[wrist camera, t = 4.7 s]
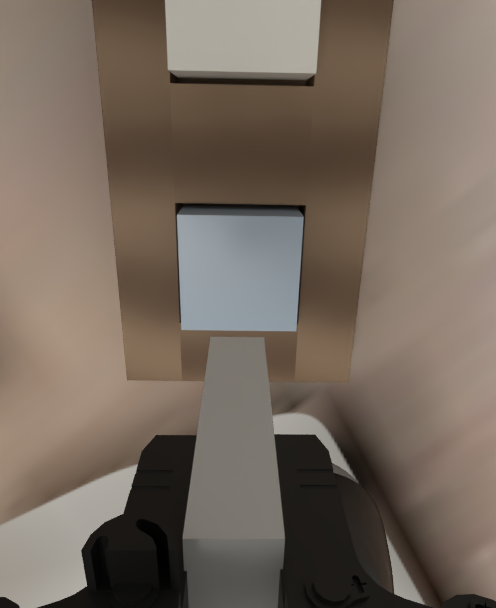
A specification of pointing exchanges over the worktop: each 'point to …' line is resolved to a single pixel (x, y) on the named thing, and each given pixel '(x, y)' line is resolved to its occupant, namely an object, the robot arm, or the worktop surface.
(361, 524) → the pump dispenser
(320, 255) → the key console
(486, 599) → the robot arm
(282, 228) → the blue key
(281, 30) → the white key
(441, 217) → the worktop surface
